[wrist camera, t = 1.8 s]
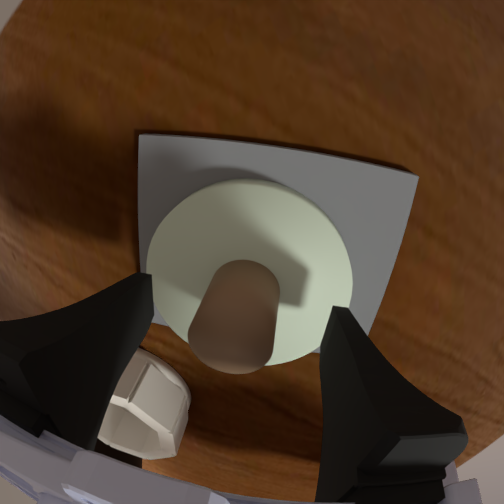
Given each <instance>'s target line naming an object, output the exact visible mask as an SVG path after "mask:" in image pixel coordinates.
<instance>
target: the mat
mask: <svg viewBox="0 0 504 504" xmlns="http://www.w3.org/2000/svg"><path fill="white" fill-rule="evenodd" d="M244 178H249V179H261V180H266V181H271V182H276V183H278V184H281V185H284V186H287V187H290V188H292V189H294V190H296V191H297V192H299V193H301V194H303V195H305V196H306V197H307V198H309V199H310V200H312V201H313V202H315V203H316V204H317V205H318V206H319V207H320V208H321V209H322V210H323V211H324V212H325V213H326V214H327V215H328V217H329V218H330V219H331V220H332V221H333V223H334V224H335V226H336V228H337V229H338V231H339V233H340V234H341V237H342V239H343V242H344V244H345V247H346V250H347V254H348V257H349V261H350V265H351V269H352V280H353V286H352V296H351V300H350V304H349V310H350V311H351V313H352V314H353V316H354V317H355V319H356V320H357V322H358V323H359V324H360V326H361V327H362V329H363V330H364V332H365V333H366V334H367V336H368V334H369V331H370V329H371V326H372V324H373V321H374V319H375V316H376V314H377V311H378V308H379V306H380V303H381V300H382V298H383V295H384V292H385V290H386V287H387V284H388V281H389V278H390V275H391V272H392V269H393V266H394V263H395V260H396V257H397V254H398V251H399V248H400V245H401V241H402V238H403V235H404V231H405V228H406V224H407V221H408V217H409V214H410V210H411V206H412V202H413V198H414V195H415V191H416V186H417V182H418V178H419V176H417V175H416V174H414V173H411V172H407V171H403V170H399V169H395V168H391V167H386V166H382V165H378V164H373V163H369V162H364V161H360V160H355V159H350V158H345V157H340V156H335V155H330V154H324V153H319V152H313V151H307V150H301V149H295V148H289V147H282V146H275V145H268V144H261V143H253V142H245V141H236V140H227V139H217V138H206V137H195V136H181V135H165V134H141V135H139V151H138V227H139V251H140V269H141V272H142V273H146V264H147V255H148V249H149V246H150V243H151V240H152V237H153V236H154V234H155V232H156V230H157V228H158V226H159V225H160V223H161V222H162V221H163V219H164V218H165V217H166V216H167V215H168V214H169V213H170V212H171V211H172V210H173V209H174V208H175V207H176V206H177V205H178V204H180V203H181V202H182V201H183V200H184V199H186V198H187V197H188V196H190V195H191V194H192V193H194V192H196V191H198V190H200V189H202V188H203V187H205V186H208V185H211V184H214V183H217V182H221V181H226V180H231V179H244ZM153 302H154V301H153ZM152 322H153V323H157V324H162V325H166V326H169V325H168V324H167V323H166V321H165V320H164V319H163V317H162V316H161V314H160V313H159V311H158V309H157V307H156V306H155V303H154V317H153V320H152ZM312 352H316V353H320V346H319V347H318V348H316V349H315V350H314V351H312Z"/></svg>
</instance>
